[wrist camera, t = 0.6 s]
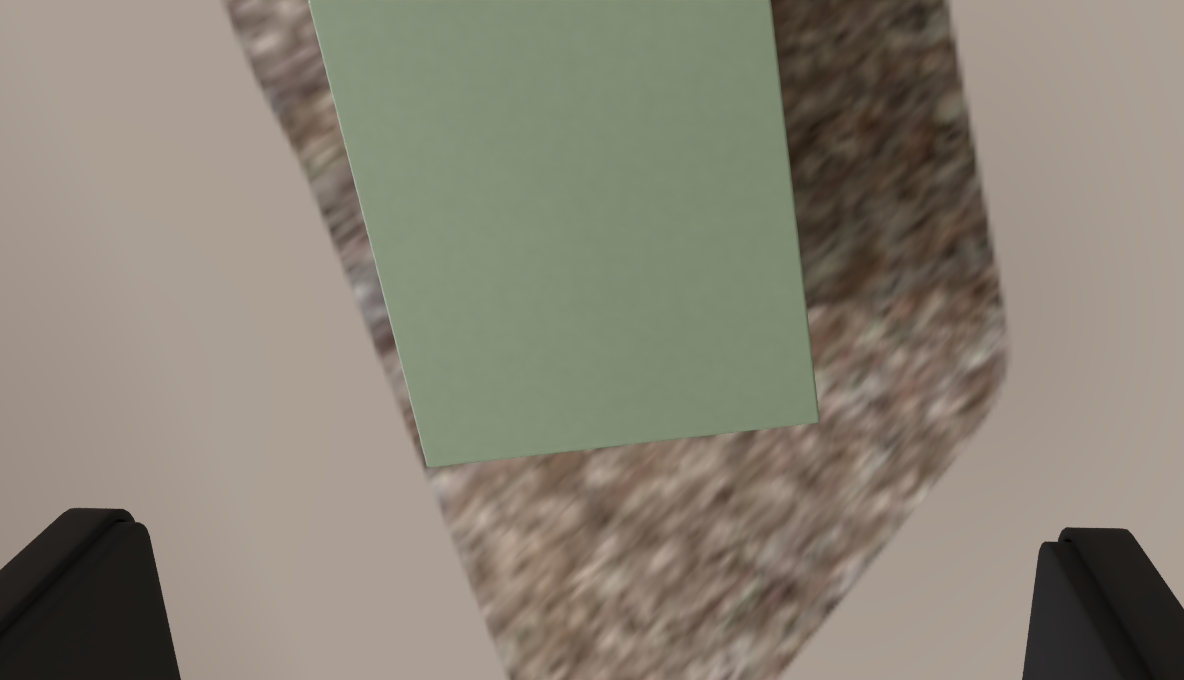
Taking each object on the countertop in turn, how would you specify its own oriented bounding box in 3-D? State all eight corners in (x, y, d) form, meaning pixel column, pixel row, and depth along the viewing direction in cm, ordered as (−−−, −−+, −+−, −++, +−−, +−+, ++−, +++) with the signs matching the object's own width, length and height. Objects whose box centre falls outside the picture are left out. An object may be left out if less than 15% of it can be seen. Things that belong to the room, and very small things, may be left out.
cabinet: (406, -18, 36) (306, -3, 27) (748, -83, 34) (760, -90, 26) (489, 352, 41) (426, 468, 32) (795, 311, 39) (820, 423, 30)
